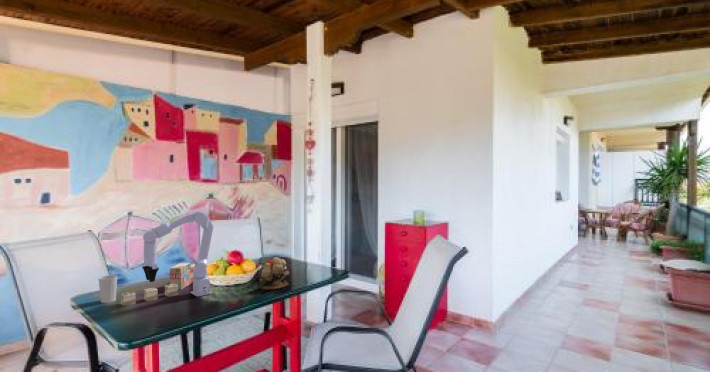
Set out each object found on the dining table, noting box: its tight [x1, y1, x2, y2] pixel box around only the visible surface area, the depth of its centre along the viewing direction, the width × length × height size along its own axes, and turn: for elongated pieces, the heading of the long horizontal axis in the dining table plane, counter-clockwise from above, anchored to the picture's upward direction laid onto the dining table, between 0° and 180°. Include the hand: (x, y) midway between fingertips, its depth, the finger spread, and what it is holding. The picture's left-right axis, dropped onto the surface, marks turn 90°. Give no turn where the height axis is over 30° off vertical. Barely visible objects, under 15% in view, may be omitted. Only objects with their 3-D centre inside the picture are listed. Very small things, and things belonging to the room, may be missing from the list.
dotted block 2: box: [164, 283, 179, 298], centre depth 196 cm, size 5×5×5 cm
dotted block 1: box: [120, 291, 137, 307], centre depth 182 cm, size 5×5×5 cm
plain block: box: [143, 287, 159, 302], centre depth 189 cm, size 5×5×5 cm
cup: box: [98, 274, 118, 304], centre depth 186 cm, size 8×8×12 cm
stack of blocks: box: [169, 262, 196, 291], centre depth 215 cm, size 21×6×12 cm, turn 179°
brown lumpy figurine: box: [259, 256, 290, 291], centre depth 211 cm, size 18×12×17 cm, turn 134°
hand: (150, 280), depth 189 cm, fingers open, 4 cm apart
